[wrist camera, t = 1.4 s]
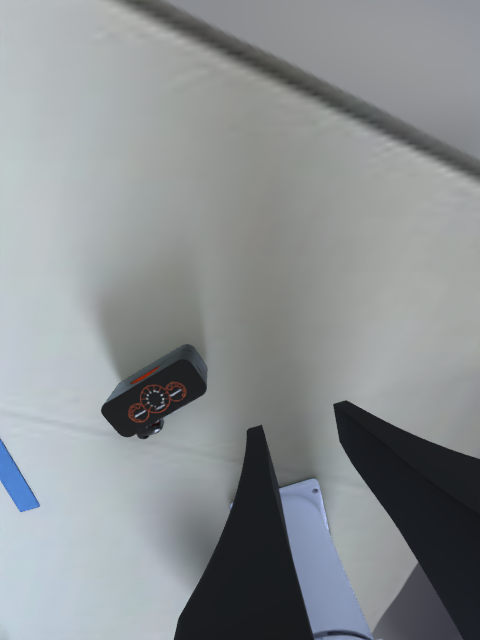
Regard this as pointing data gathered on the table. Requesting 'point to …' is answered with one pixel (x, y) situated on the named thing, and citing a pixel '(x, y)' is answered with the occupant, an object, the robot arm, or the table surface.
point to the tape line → (15, 482)
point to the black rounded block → (156, 393)
